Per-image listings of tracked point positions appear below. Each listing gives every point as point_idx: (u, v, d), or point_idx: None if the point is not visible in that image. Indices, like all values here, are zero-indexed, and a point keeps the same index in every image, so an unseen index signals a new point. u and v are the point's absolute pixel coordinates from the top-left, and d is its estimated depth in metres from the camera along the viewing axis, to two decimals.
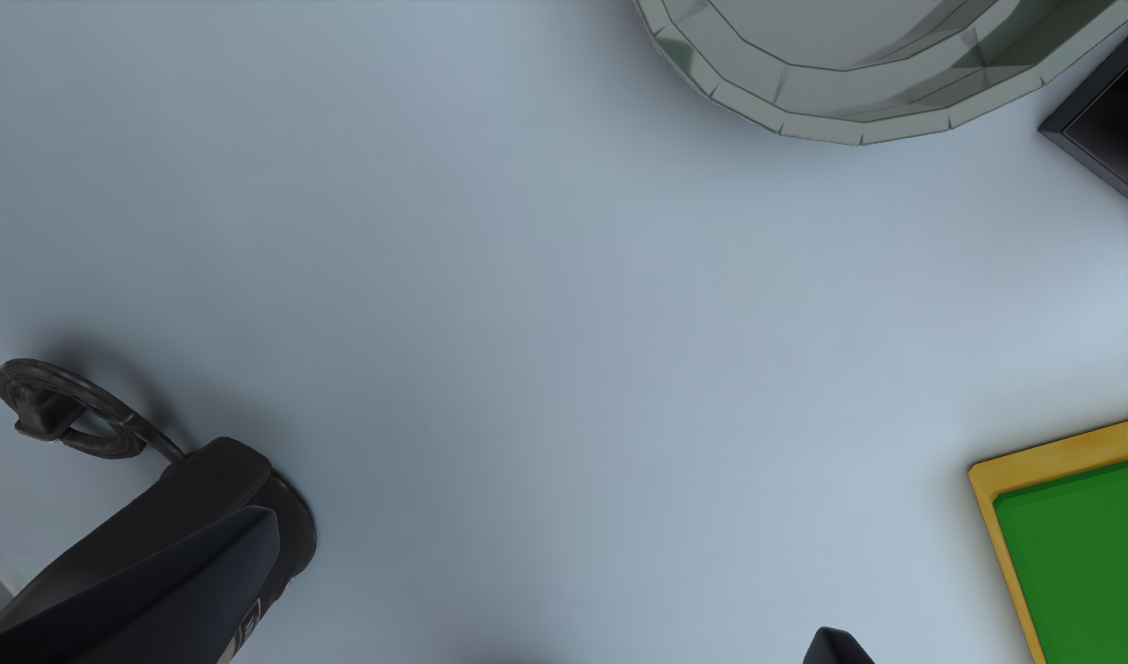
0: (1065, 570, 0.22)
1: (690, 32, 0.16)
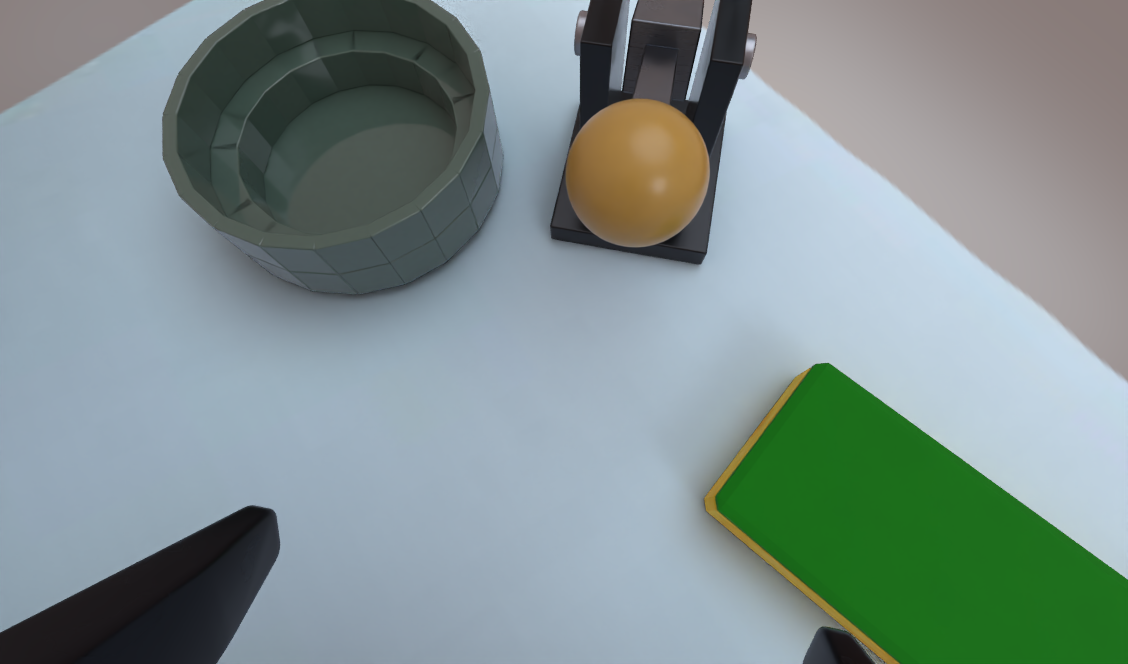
0: (835, 549, 0.19)
1: None
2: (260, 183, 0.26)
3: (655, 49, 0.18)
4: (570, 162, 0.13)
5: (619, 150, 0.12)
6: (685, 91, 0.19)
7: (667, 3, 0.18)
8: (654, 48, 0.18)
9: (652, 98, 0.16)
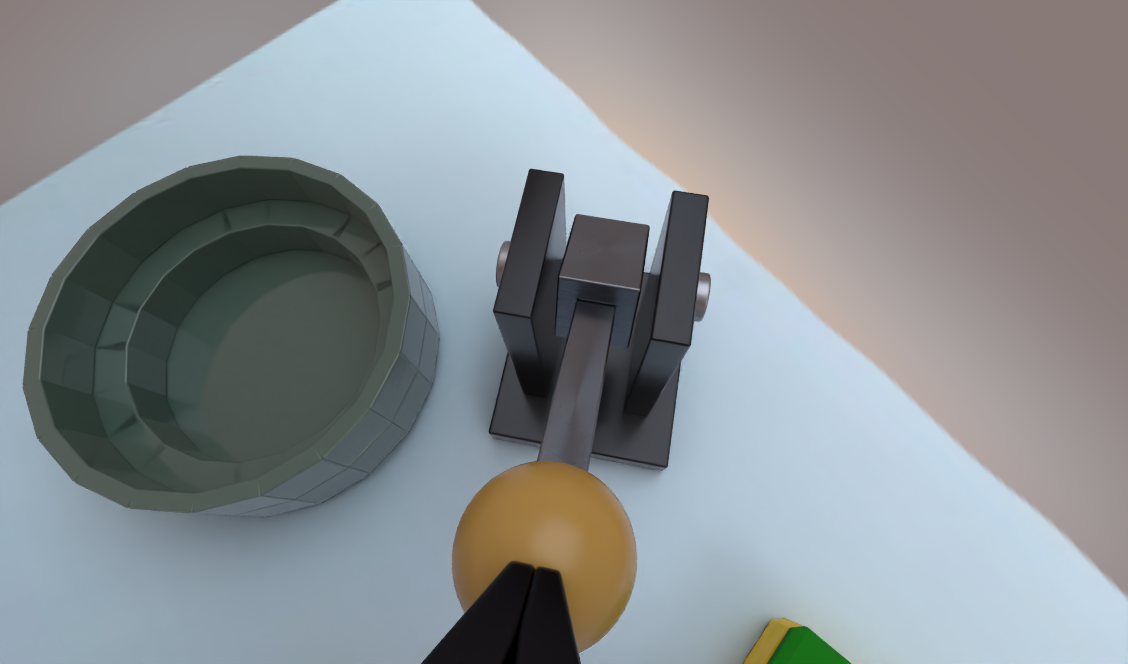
0: None
1: (156, 470, 0.20)
2: (160, 377, 0.23)
3: (586, 308, 0.15)
4: (453, 560, 0.10)
5: None
6: (628, 340, 0.16)
7: (604, 240, 0.15)
8: (586, 306, 0.15)
9: (574, 410, 0.13)
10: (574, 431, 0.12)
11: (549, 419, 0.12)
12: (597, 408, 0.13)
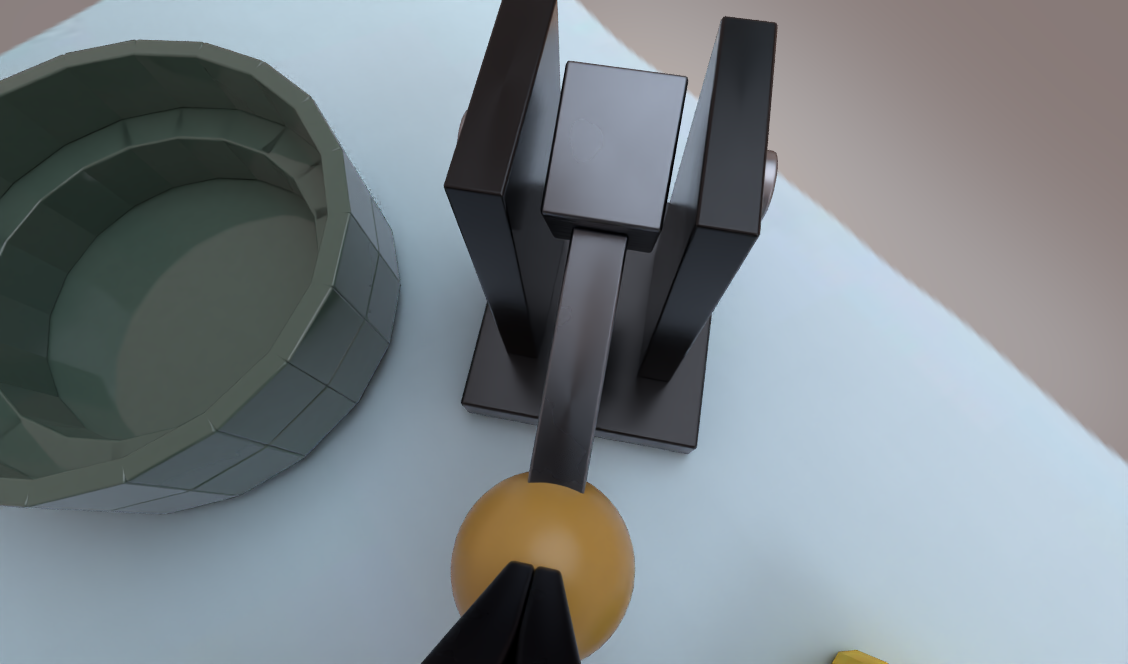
0: None
1: (7, 450, 0.15)
2: (38, 333, 0.18)
3: (586, 243, 0.10)
4: (452, 587, 0.11)
5: None
6: (650, 250, 0.12)
7: (610, 124, 0.10)
8: (586, 240, 0.11)
9: (569, 412, 0.10)
10: (569, 442, 0.10)
11: (540, 425, 0.11)
12: (597, 408, 0.10)
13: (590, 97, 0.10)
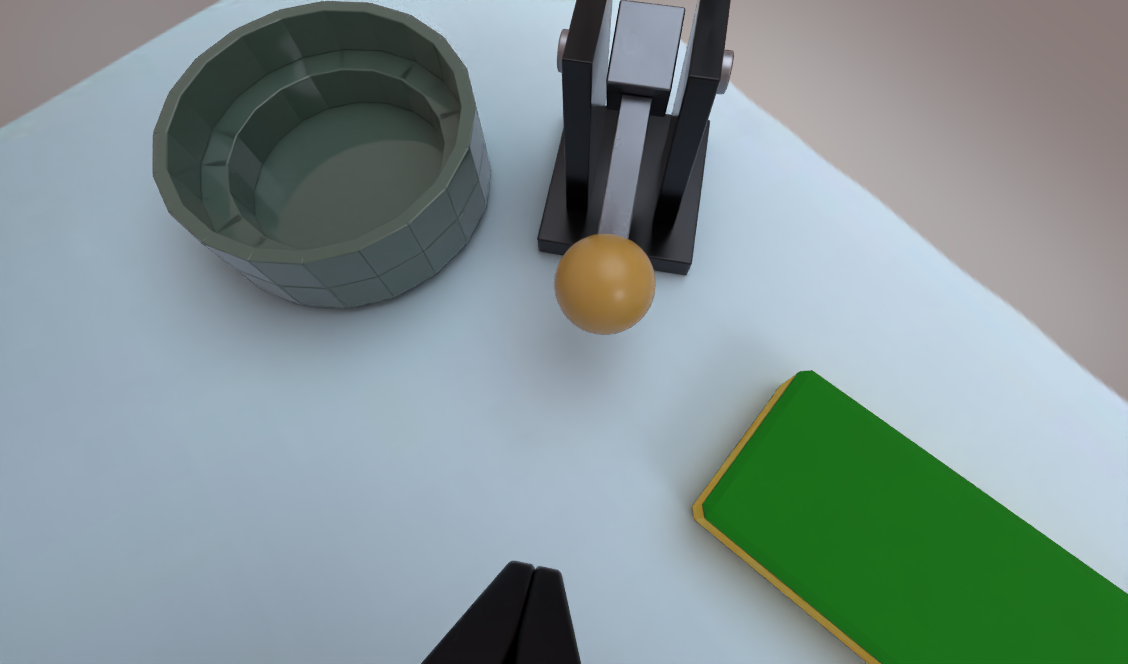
0: (821, 555, 0.19)
1: None
2: (251, 200, 0.26)
3: (629, 102, 0.19)
4: (556, 292, 0.20)
5: (585, 311, 0.19)
6: (663, 113, 0.20)
7: (644, 33, 0.18)
8: (629, 100, 0.19)
9: (620, 195, 0.19)
10: (620, 211, 0.19)
11: (604, 202, 0.19)
12: (635, 192, 0.19)
13: (633, 19, 0.18)
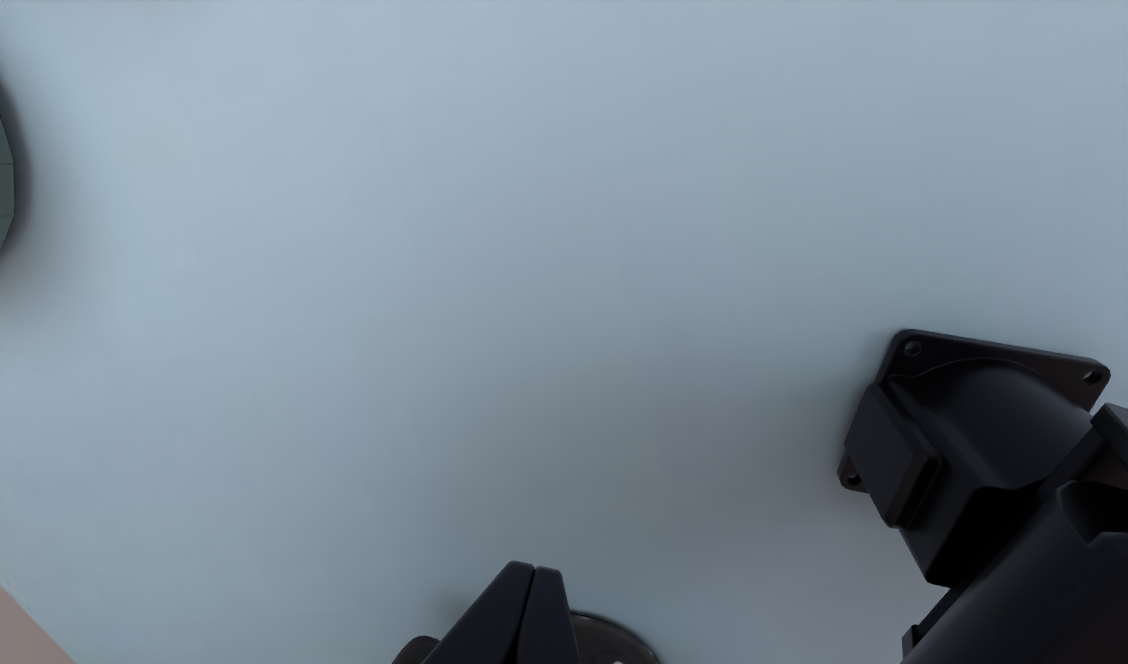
0: None
1: None
2: None
3: None
4: None
5: None
6: None
7: None
8: None
9: None
10: None
11: None
12: None
13: None
